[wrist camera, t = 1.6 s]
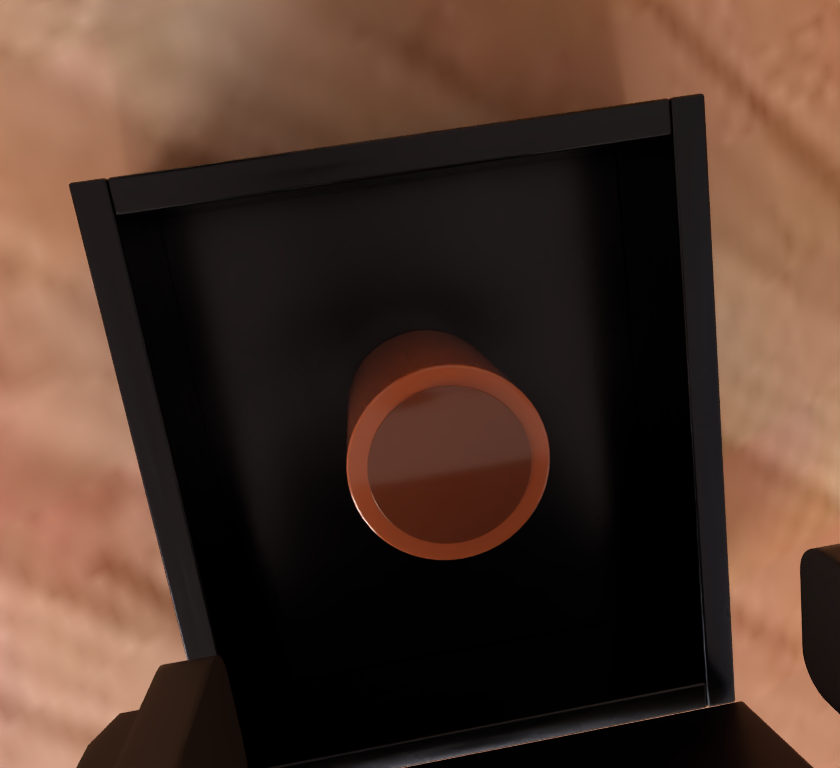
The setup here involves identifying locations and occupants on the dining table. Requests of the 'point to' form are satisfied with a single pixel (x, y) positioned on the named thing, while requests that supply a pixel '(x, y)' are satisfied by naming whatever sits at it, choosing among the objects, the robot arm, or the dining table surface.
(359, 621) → the black open box
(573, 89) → the dining table surface
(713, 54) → the dining table surface
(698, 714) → the lid
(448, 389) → the terracotta cup
